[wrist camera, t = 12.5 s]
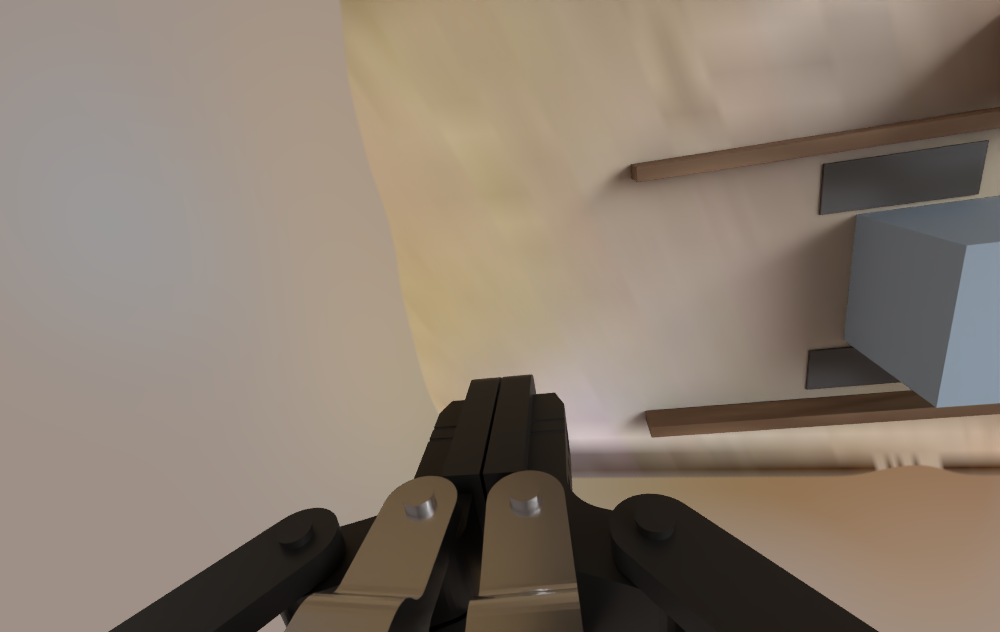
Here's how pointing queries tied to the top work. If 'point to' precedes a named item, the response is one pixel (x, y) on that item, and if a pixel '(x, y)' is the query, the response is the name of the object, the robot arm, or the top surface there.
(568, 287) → the top surface
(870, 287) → the slate block
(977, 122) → the tray
